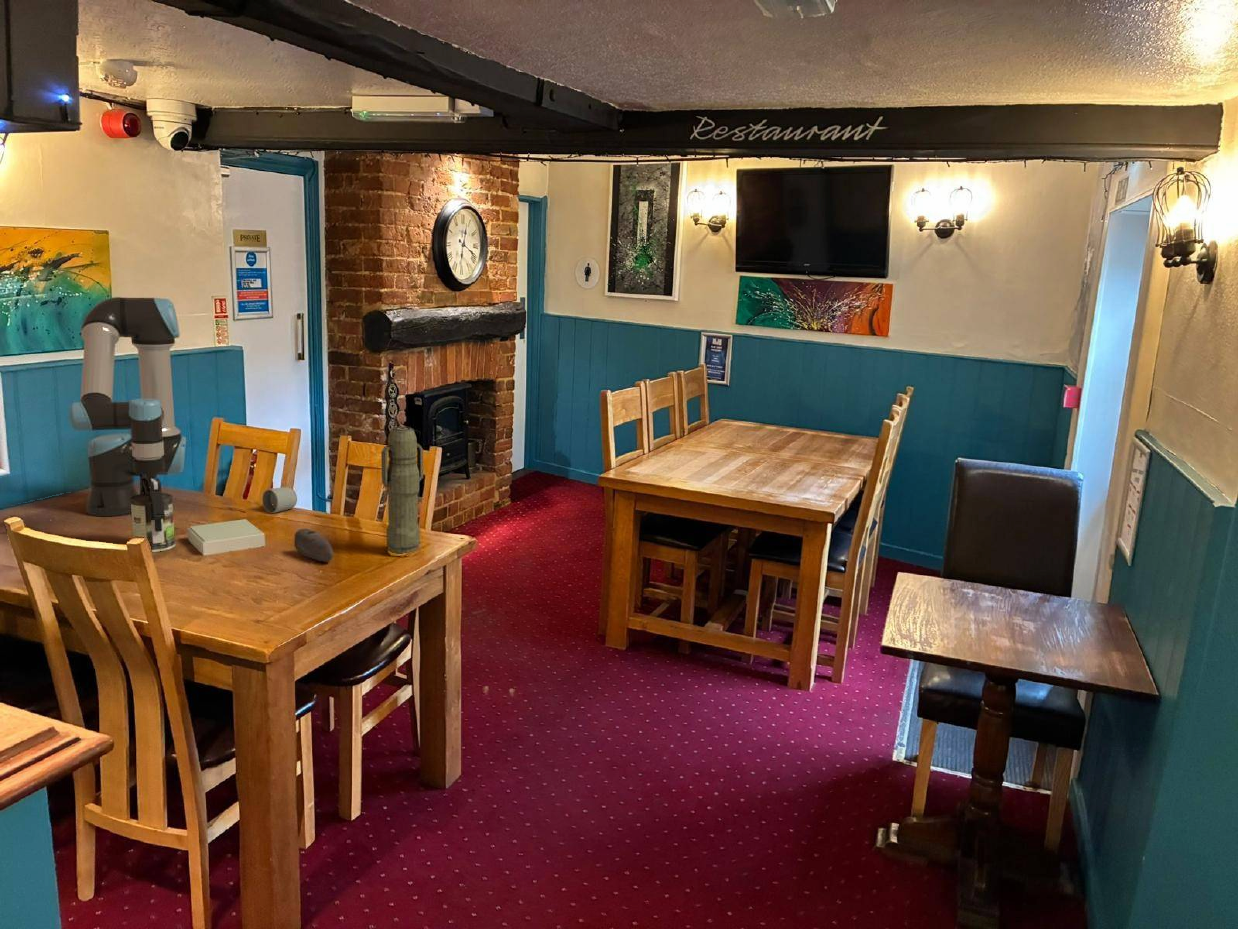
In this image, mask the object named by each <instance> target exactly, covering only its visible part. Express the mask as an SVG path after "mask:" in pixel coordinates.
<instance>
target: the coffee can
mask: <svg viewBox="0 0 1238 929" xmlns="http://www.w3.org/2000/svg"><path fill="white" fill-rule="evenodd" d="M173 498H174V497H173V494H170V493H167V492H162V500H163V508H164V515H165V518H163V528H164V542H161V543H154V544H153V540H152V526H151V521H150V520H149V518H152V514H151V504H152V501H151V502H150V501H149V498H148V496H146V495H144V496H143V494H140V493H139V495H135V496H132V497H130V504H131V514H130V517H131V527H132V528H131V529H132V539H133V538H134V537H145V538H147V539H148V541H149V543H150V546H151V550H152V552H151V553H160V551H161V552H165V551H169V550H172V549H173V548H175V546H176V540H175V524H174V506H173ZM156 515H157V514H156Z"/></svg>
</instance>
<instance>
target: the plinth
mask: <svg viewBox="0 0 1238 929" xmlns="http://www.w3.org/2000/svg"><path fill="white" fill-rule="evenodd" d="M187 539H188V541H189V542H190V543H191V545H193V547H195V549H197V551H199V552H200V553H201V555H203V556H209V555H217V554H223V553H231V552H235V551H243V550H249V548H250V549H256V548H262V546H263V547H266V535H265V533H264V532H262V530H260V529H259V528H258V527H257V526H255V525H254V524H252V523H251V522H250V521H249V520H248V519H246V518H244V519H239V520H229V521H221V522H214V523H207V524H199V525H193V526H192V525H191V526H189V527H187ZM230 551H231V552H230Z"/></svg>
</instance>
